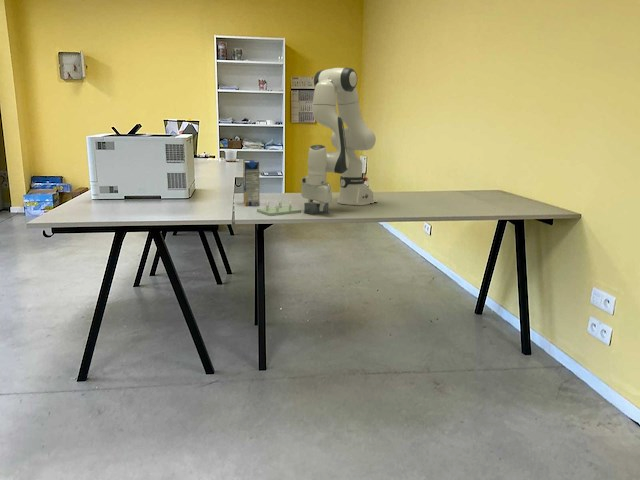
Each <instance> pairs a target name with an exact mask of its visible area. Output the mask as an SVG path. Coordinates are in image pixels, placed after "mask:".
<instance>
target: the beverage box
mask: <svg viewBox="0 0 640 480" xmlns="http://www.w3.org/2000/svg"><path fill="white" fill-rule="evenodd" d="M242 169H243V170H242V171H243V172H242V173H243V176H242V177H243V178H242V179H243V181H242V182H243V204H244V206H245V207H260V161H258V160H257V159H256V160H255V159H254V160H253V159H251V160H250V159H246V160H245V159H243V160H242Z"/></svg>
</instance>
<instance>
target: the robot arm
mask: <svg viewBox="0 0 640 480" xmlns="http://www.w3.org/2000/svg"><path fill="white" fill-rule="evenodd" d="M357 84H358V75H357V72H356V71H355V69H353V68H350V67H333V68H327V69H321V70H319V71H316V73H315V75H314V77H313V85H314V91H313V97H312V117H313V118H314V120H315V121H316V122H317V123H318V124H320V125H322V126H323V127H326V128H328V129H329V130H331V131H333V132H332V133H331V136H330V141H331V145H332V146H333V147H334V148H335V149H336V151H327V148H326V146H325V145H323V144H313V145H311V146H309V148H308V155H307V167H308V169H307V175H306V176H304V177H302V178H301V179H300V182H301V183H302V184H301V189H300V190H301V192H300V193H301V197H302V198H303V199H307V201H308V202H307V203H309V202H320V207H318V210H319V211H323V207H324V205H325V203H330V204H331V203H332V202H333V190H332V186H331V184H330V183H329V182H327V173H334V174H340V176H339V177H340V178H339V183H340V185H339V194H338V199H337V201H336V202H337V204H341V205H350V206H354V205H355V206H365V205H371V204H370V203H372V204H375V203H374V202H377V203H378V200H377V199H375V198H374V192H373V190H372V189H371V188H370V187H369V186H367V185H366V184H365V182H368V180H369V178H368V177H366V176H365V177H363V160H361V159H360V158H359V157H358V156H357V154H356V151H362V152H363V151H368V150H371V149H373V148H374V147H375V144H376V135H375V133H374V131H373V130H371V129H370V128H369V127H368V126H367V124H366V122H365V120H364V118H363V117H362V114H361V105H360V99H359V93H358V89H357ZM344 124H345V126H346V127H344Z"/></svg>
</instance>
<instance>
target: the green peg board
mask: <svg viewBox="0 0 640 480" xmlns="http://www.w3.org/2000/svg"><path fill="white" fill-rule="evenodd" d="M275 204H276V206H275V207H274V206H273V207H270V200H268V199H267V200H266V202H265V208H257V209H256V212H257V213H258V214H259V213H260V214H261V215H266V216H269V217H273V216H274V217H275V216H281V215H282V216H283V215H291V214H300V213H301V212H302V211H301V209H298V208H295V207H292V199H289V200H288V205H285V206H283V205H282V199H281V198H280V199H278V202H276V203H275Z"/></svg>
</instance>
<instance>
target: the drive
mask: <svg viewBox="0 0 640 480" xmlns="http://www.w3.org/2000/svg"><path fill="white" fill-rule="evenodd" d="M318 207H320V202H319V201H313V202H304V211H303V212H304V214H305V215H309V216H315V215H324V214H329V203H325V205H324V207H323V211H319V210H318Z"/></svg>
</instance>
